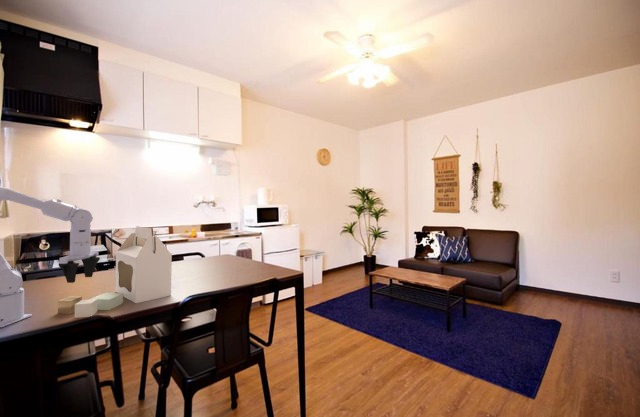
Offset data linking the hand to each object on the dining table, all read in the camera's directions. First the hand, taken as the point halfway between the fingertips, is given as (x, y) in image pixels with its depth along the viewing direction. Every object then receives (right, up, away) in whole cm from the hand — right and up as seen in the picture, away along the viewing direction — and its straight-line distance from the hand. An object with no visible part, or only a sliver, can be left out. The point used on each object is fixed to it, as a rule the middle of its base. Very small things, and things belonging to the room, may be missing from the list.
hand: (80, 279), depth 103 cm
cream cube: (+8, -10, -7) cm, 15 cm away
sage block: (+9, -10, +1) cm, 14 cm away
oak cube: (0, -10, -4) cm, 11 cm away
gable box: (+13, -10, +16) cm, 23 cm away
